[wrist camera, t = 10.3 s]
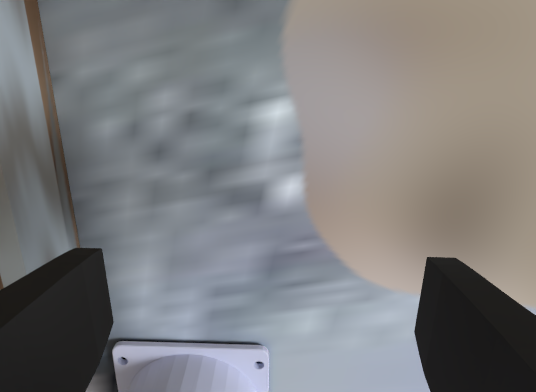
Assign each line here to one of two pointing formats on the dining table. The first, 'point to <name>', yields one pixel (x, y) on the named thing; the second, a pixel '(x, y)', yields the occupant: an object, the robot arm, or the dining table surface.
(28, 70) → the grey brown open tray
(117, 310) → the dining table surface
